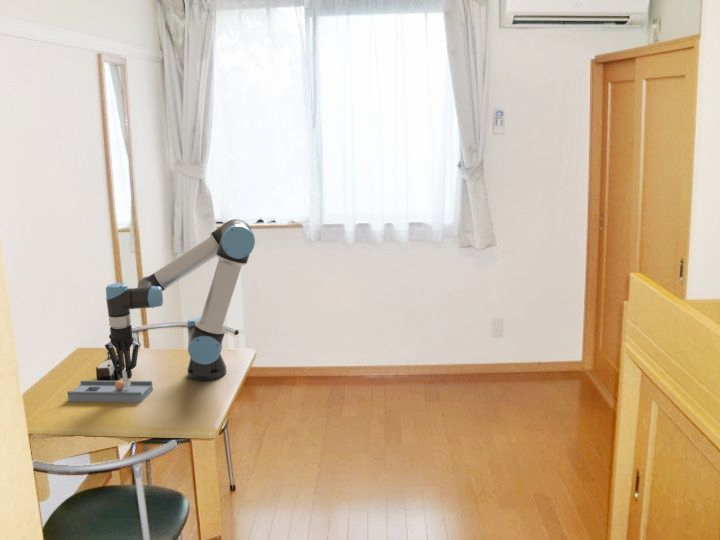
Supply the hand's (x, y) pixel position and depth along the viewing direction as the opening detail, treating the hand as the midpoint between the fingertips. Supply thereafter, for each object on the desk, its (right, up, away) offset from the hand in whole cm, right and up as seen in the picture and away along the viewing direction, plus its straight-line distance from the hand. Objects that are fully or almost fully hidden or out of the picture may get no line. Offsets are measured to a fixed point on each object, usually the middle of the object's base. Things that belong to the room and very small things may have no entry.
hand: (127, 386), depth 279 cm
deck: (-7, -4, +2) cm, 8 cm away
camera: (-12, 0, +20) cm, 23 cm away
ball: (-3, 0, 0) cm, 3 cm away
